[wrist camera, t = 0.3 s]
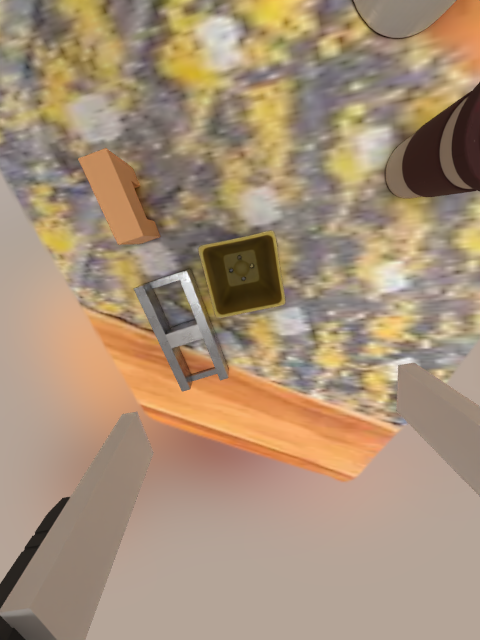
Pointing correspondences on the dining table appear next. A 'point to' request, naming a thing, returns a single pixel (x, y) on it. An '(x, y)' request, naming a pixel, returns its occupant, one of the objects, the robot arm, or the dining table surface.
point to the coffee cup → (440, 154)
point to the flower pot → (243, 274)
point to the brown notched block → (118, 197)
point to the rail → (182, 329)
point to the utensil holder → (401, 15)
